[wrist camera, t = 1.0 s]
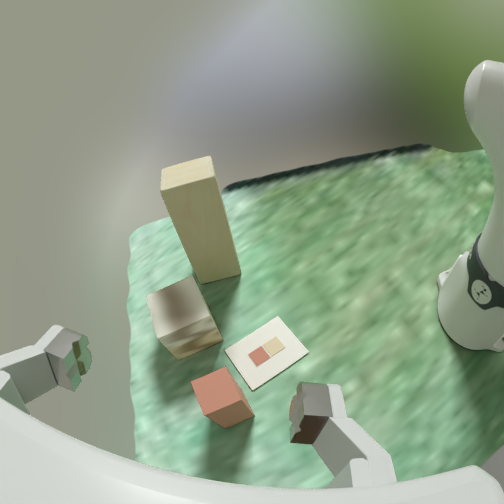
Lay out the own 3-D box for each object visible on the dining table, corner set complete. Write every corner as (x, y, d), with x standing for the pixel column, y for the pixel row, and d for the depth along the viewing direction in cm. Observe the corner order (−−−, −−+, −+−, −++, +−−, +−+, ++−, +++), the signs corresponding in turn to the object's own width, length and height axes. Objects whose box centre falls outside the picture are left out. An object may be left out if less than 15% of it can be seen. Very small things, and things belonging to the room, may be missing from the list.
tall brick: (241, 389, 40) (225, 366, 33) (254, 415, 37) (241, 399, 30) (213, 401, 39) (190, 381, 32) (225, 428, 36) (204, 415, 29)
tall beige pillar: (236, 245, 59) (210, 152, 44) (243, 274, 54) (215, 176, 39) (197, 256, 59) (160, 166, 44) (200, 285, 54) (158, 192, 39)
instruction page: (277, 316, 47) (277, 315, 47) (308, 352, 42) (308, 351, 42) (224, 350, 45) (224, 349, 44) (252, 390, 40) (252, 390, 39)
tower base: (206, 303, 51) (192, 275, 45) (223, 340, 46) (209, 315, 40) (165, 321, 50) (146, 296, 44) (178, 360, 44) (157, 338, 38)
